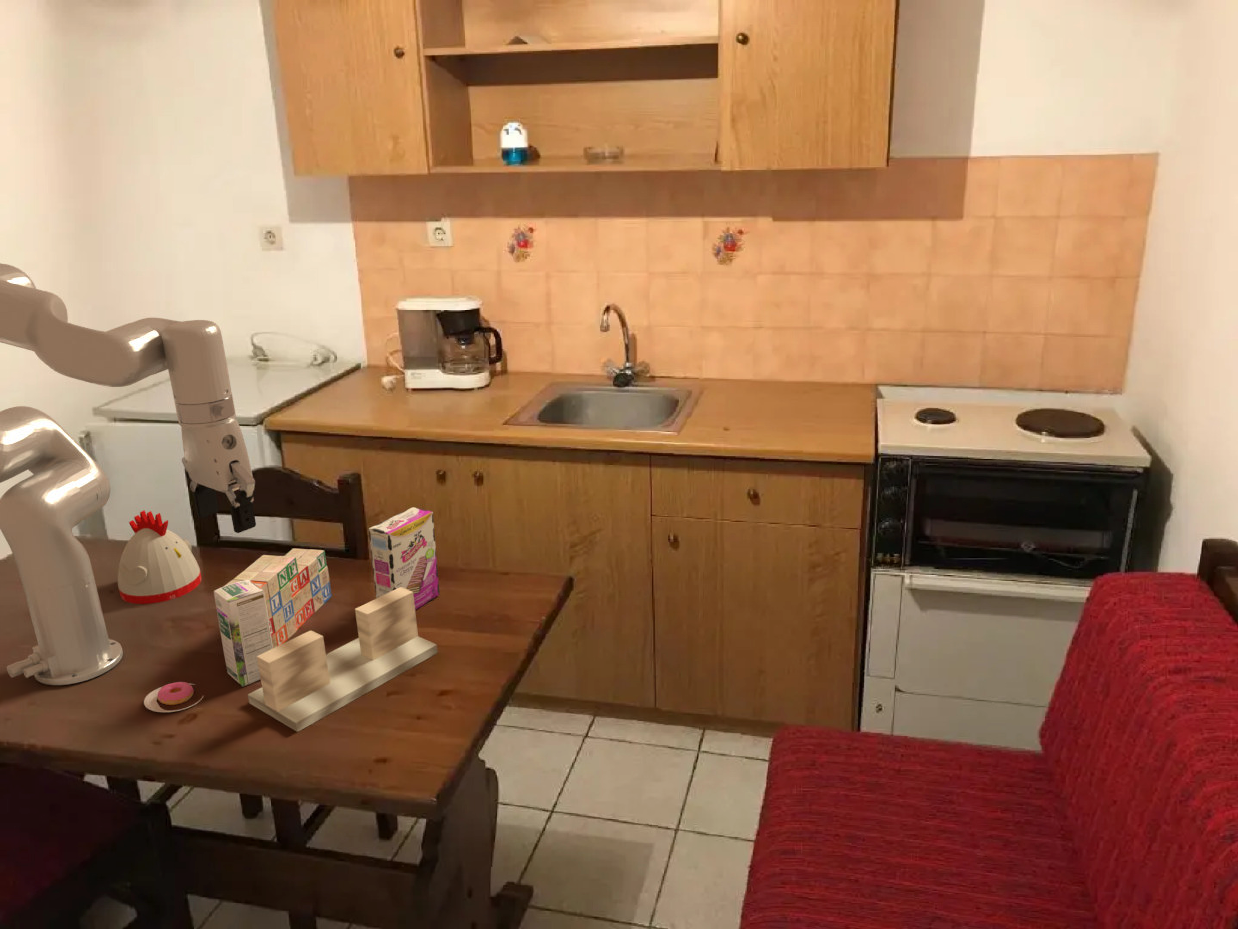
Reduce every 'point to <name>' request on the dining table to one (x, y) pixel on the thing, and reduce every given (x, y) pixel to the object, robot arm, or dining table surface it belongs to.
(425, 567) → the candy bar box
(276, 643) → the stack of blocks
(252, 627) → the syrup box
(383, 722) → the dining table surface
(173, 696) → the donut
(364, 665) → the slotted board
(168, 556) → the kitchen timer
